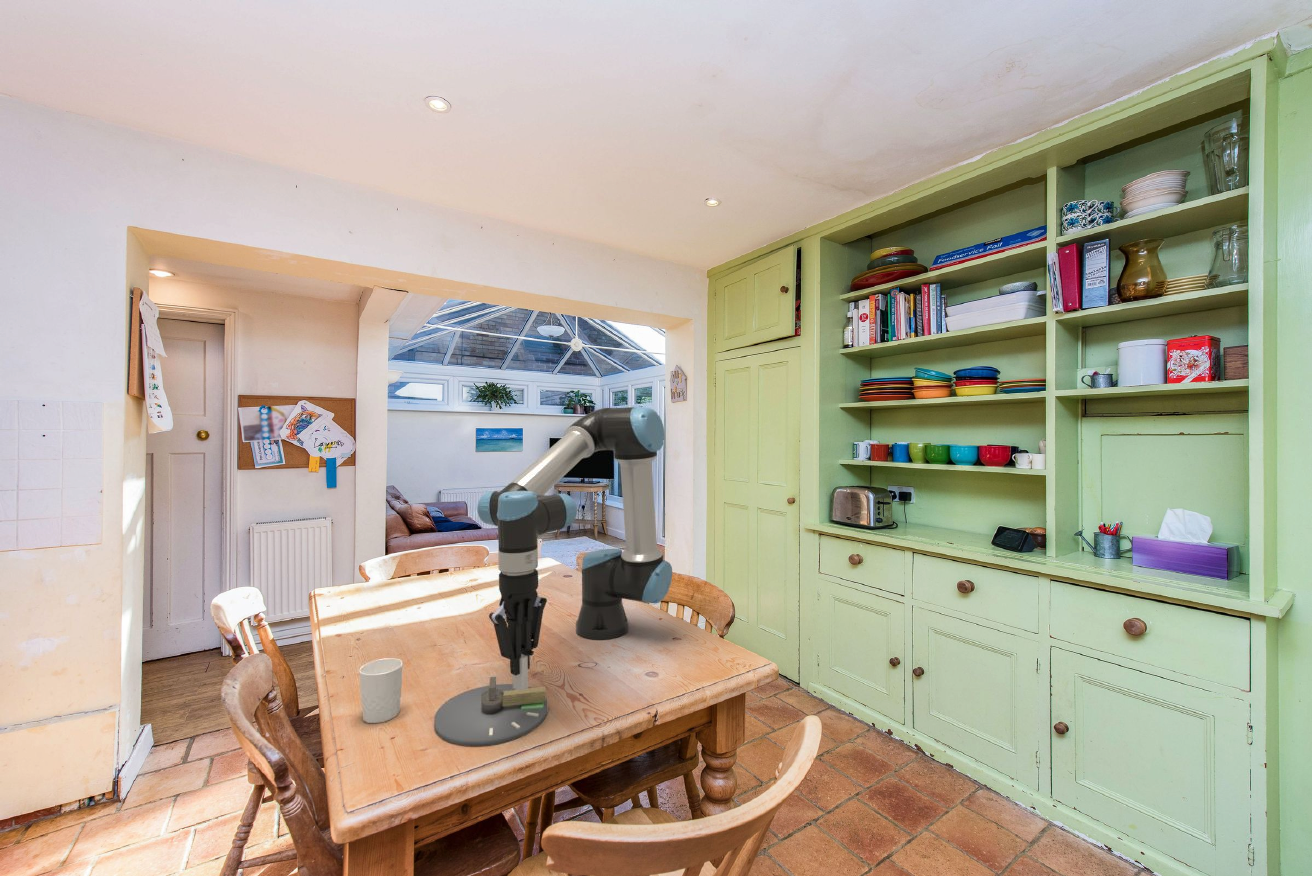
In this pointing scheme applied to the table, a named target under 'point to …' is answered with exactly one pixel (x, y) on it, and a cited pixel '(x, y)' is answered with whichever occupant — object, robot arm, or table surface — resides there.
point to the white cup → (380, 689)
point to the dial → (485, 719)
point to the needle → (508, 697)
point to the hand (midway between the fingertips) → (520, 688)
